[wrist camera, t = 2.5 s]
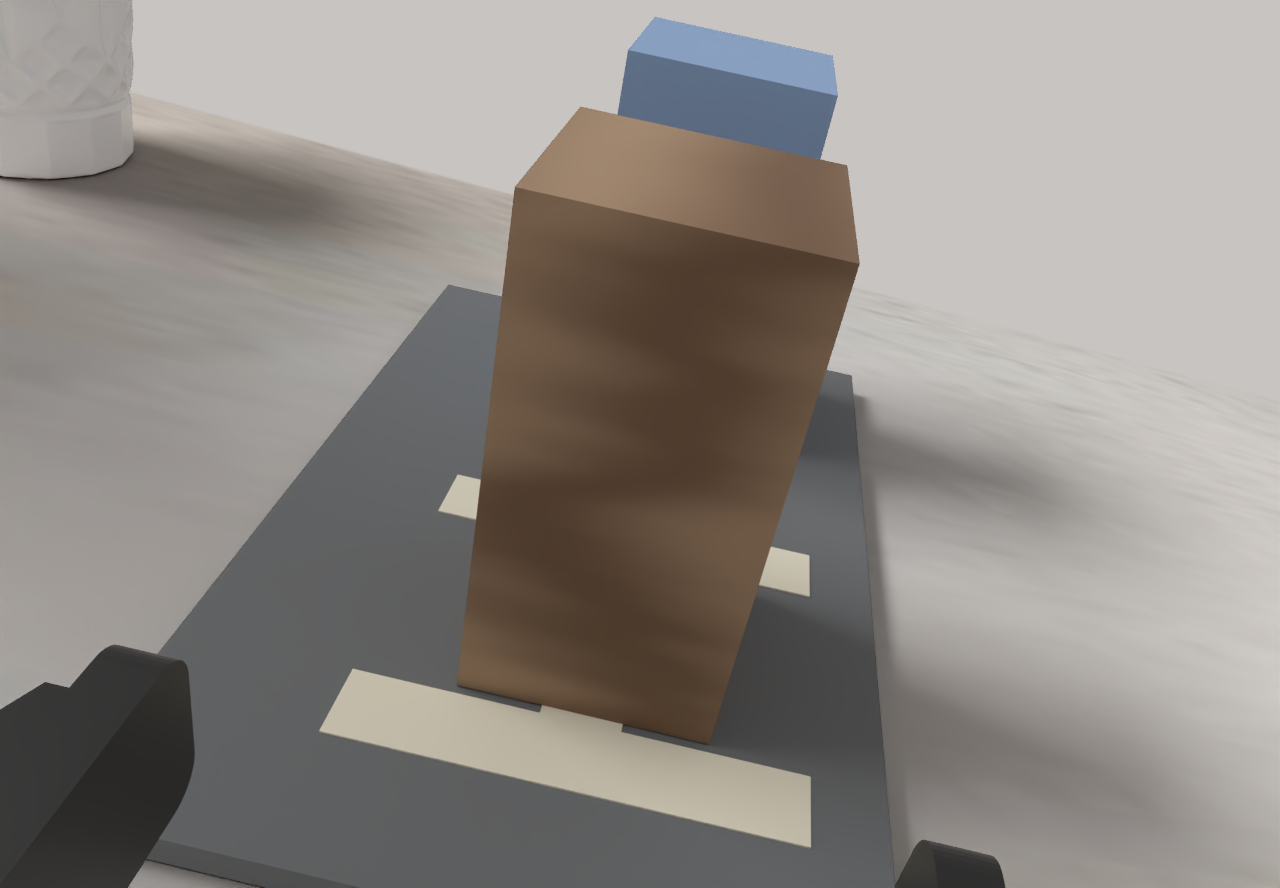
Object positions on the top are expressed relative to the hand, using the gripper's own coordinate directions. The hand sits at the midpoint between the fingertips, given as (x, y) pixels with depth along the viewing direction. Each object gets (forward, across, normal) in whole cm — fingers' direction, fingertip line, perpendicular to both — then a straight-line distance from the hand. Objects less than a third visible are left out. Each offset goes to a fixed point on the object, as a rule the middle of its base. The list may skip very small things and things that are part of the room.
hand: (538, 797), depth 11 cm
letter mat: (+13, +1, +6) cm, 15 cm away
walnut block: (+9, 0, +6) cm, 11 cm away
